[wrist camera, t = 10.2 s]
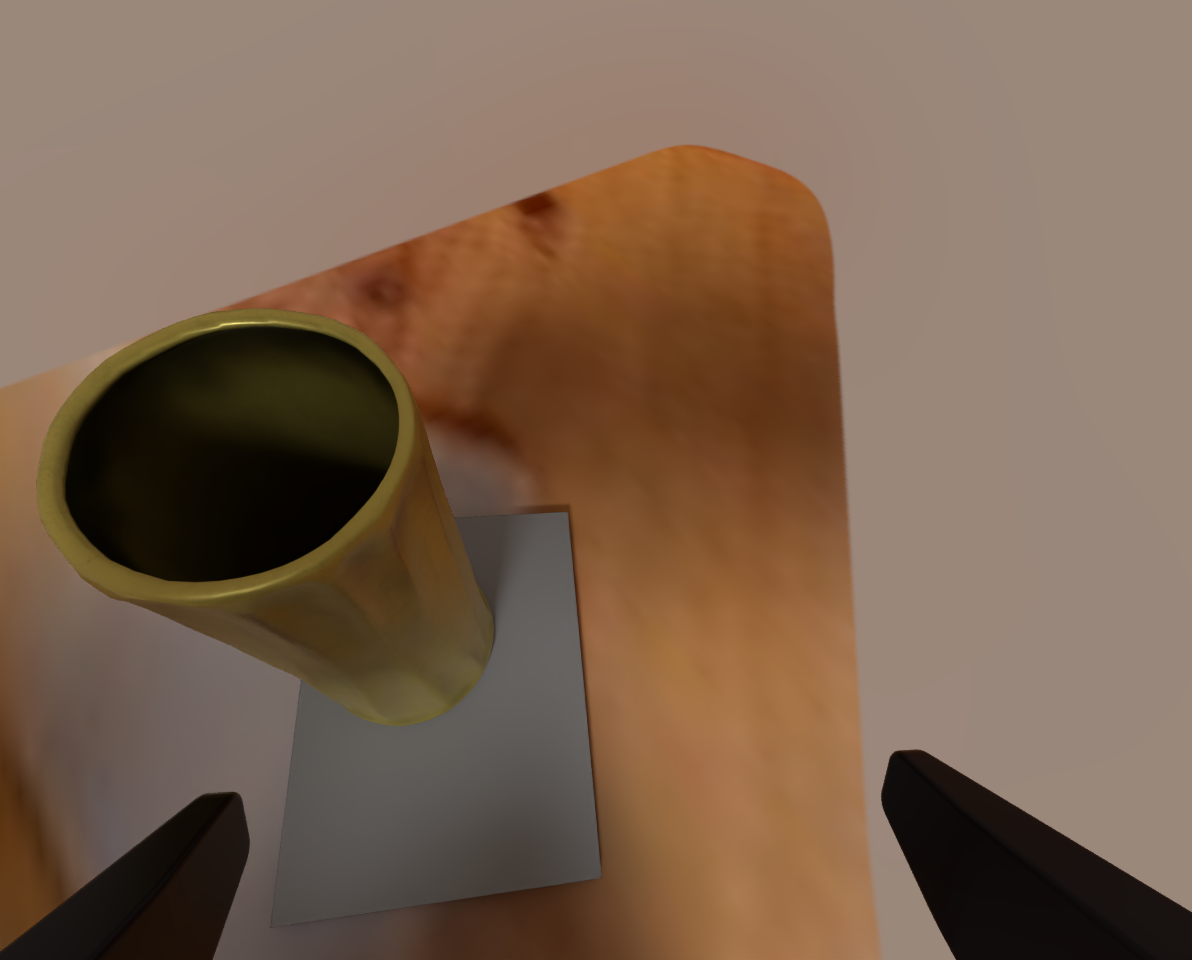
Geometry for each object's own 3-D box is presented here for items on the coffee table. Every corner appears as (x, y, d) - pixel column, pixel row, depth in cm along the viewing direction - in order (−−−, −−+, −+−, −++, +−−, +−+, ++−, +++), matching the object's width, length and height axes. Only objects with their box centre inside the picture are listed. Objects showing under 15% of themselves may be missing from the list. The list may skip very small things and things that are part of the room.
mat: (599, 875, 19) (601, 878, 18) (276, 923, 17) (270, 927, 17) (566, 516, 24) (567, 511, 24) (324, 529, 23) (320, 525, 23)
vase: (321, 576, 22) (35, 303, 9) (481, 546, 23) (424, 269, 10) (327, 746, 19) (-64, 693, 6) (507, 702, 20) (473, 585, 8)
